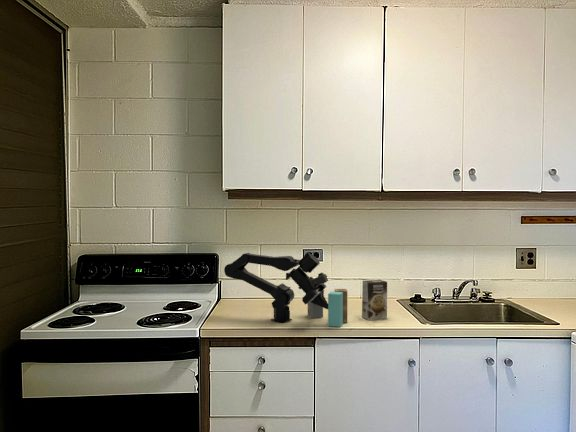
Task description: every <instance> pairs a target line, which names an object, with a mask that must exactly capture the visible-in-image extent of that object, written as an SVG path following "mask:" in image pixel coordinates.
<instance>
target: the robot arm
mask: <svg viewBox="0 0 576 432" xmlns="http://www.w3.org/2000/svg"><path fill="white" fill-rule="evenodd" d="M320 263H321V262H320V260H319V259H318V258H317V256H315V255H313V254H311V253H310V252H309V251H307V252H306V253H305V254H304V256H303V257H302V258H301V259H298V258H297V259H296V258H294V256H292V255H282V256H272V255H271V256H270V255H262V254H256V253H250V252H246V253H245V252H244V253H243V254H241V255H240V256H239V257H238V258H237V259H235V260H234V261H232V262H231V263H228V264H226V265H225V266H224V269H223V271H224V275H225V276H226V277H227V278H231V279H234V280H240V281H243V282H245V283H247V284H249V285H251V286H253V287H255V288H257V289H259V290H261V291H263V292H265V293H267V294H268V295H271V297H272V298H273V299H274V300H273V301H272V302H271V306H272V308H273V318H272V319H270V321H271V322H276V323H280V324H285V323H287V322H290V321H291V322H292V320H293V319H292V318H291V310H290V306H289V305H290V304H291V303H292V301H293V300H294V298H295V292H294V290H293V289H291V286H287V285H286V284H285V283H280V284H278V285H276V284H274V283H272V282H270V281H268V280H267V279H264V278H263V277H260V276H259V275H256V274H254V273H253V272H250V271H249V270H247V268H246V266H247V265H248V264H254V265H259V266H260V265H261V266H268V267H273V268H275V269H277V270H280V271H284V272H286V273H285V280H286V281H287V280H288V281H289V280H290V279H292V281H293V282H294V283H295V284H296V285H297V286H298V289H299V290H302V291H303V293H305V294H304V295H303V296H302V299H301V300H302V303H303V304H304V305H308V302H309V301H310V300H311V299H312V301H311V302H310V303H313V304H316V305H318V306H321V307H323V309H326V310H328V300H326V298H325V289H326V288H327V285H326V283H327V282H329V279H328V275H327V274H326V273H324V272H320V273H318V276H316V277H313V276H309V275H308V274H307V273H312V272H314V270H315V269H316V268H317V267H318V266H319V265H320ZM297 266H298V267H297ZM296 267H297V268H296ZM290 270H291V271H290ZM287 271H289V272H287ZM321 291H322V292H321Z"/></svg>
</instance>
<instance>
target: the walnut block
mask: <svg viewBox="0 0 576 432" xmlns="http://www.w3.org/2000/svg"><path fill="white" fill-rule="evenodd" d="M334 292H343V323H348V288H334Z"/></svg>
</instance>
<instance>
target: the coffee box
mask: <svg viewBox="0 0 576 432" xmlns="http://www.w3.org/2000/svg"><path fill="white" fill-rule="evenodd" d="M361 286H362V290H361V291H362V293H361V294H362V296H361V298H362V299H361V301H362V302H361V306H362V307H361V308H362V309H361V317H362V318H363V319H365V320H367V321H375V320H377V321H378V320H388V281H385V280H382V279H373V280H372V279H371V280H370V279H369V280H362V285H361Z"/></svg>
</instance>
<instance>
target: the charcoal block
mask: <svg viewBox="0 0 576 432" xmlns="http://www.w3.org/2000/svg"><path fill="white" fill-rule="evenodd" d="M321 292H322V291H321ZM311 301H312V299H311V300H310V301H309V302H308V303H307V316H308V317H310V318H312V319H316V318H317V319H318V318H323V317H324V308H323V307H321V306H318V305H316V304H313V303H310V302H311Z"/></svg>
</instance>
